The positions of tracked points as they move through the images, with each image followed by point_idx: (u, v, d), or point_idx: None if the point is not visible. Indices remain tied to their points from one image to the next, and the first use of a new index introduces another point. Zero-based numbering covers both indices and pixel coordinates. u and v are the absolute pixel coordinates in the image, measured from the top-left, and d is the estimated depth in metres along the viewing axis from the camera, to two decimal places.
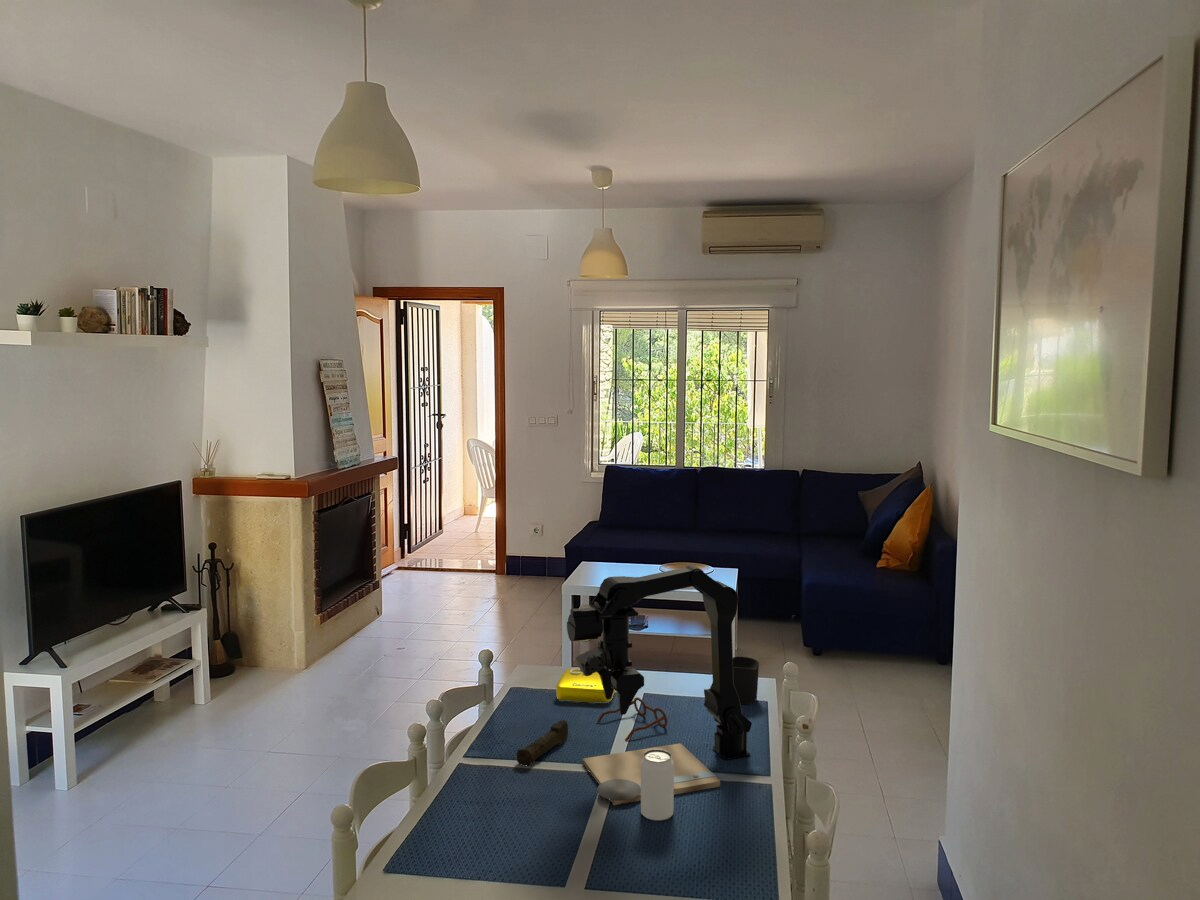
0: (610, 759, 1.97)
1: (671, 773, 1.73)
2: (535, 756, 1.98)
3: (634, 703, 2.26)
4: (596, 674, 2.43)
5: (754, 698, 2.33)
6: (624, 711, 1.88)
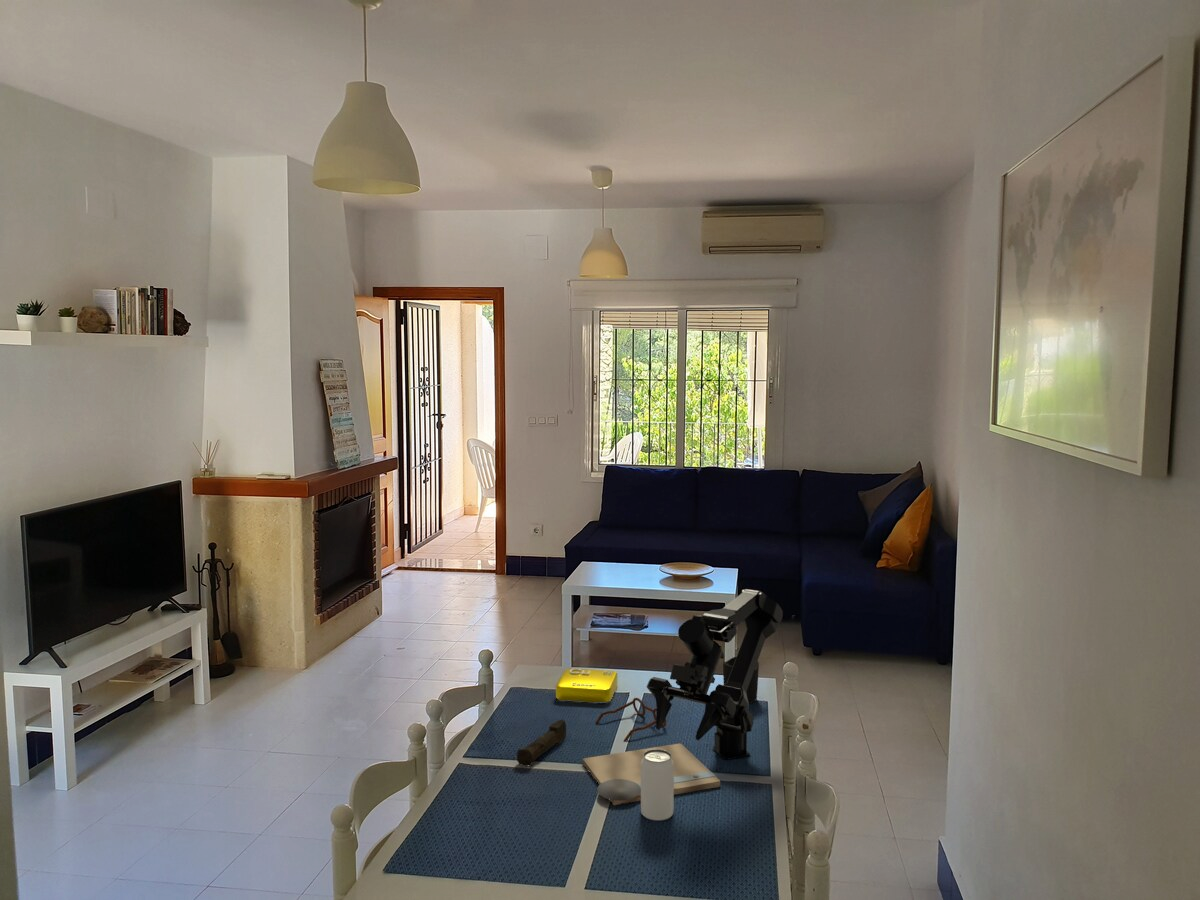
0: (610, 759, 1.97)
1: (671, 773, 1.73)
2: (535, 756, 1.98)
3: (633, 703, 2.26)
4: (596, 674, 2.43)
5: (754, 698, 2.33)
6: (700, 736, 1.78)
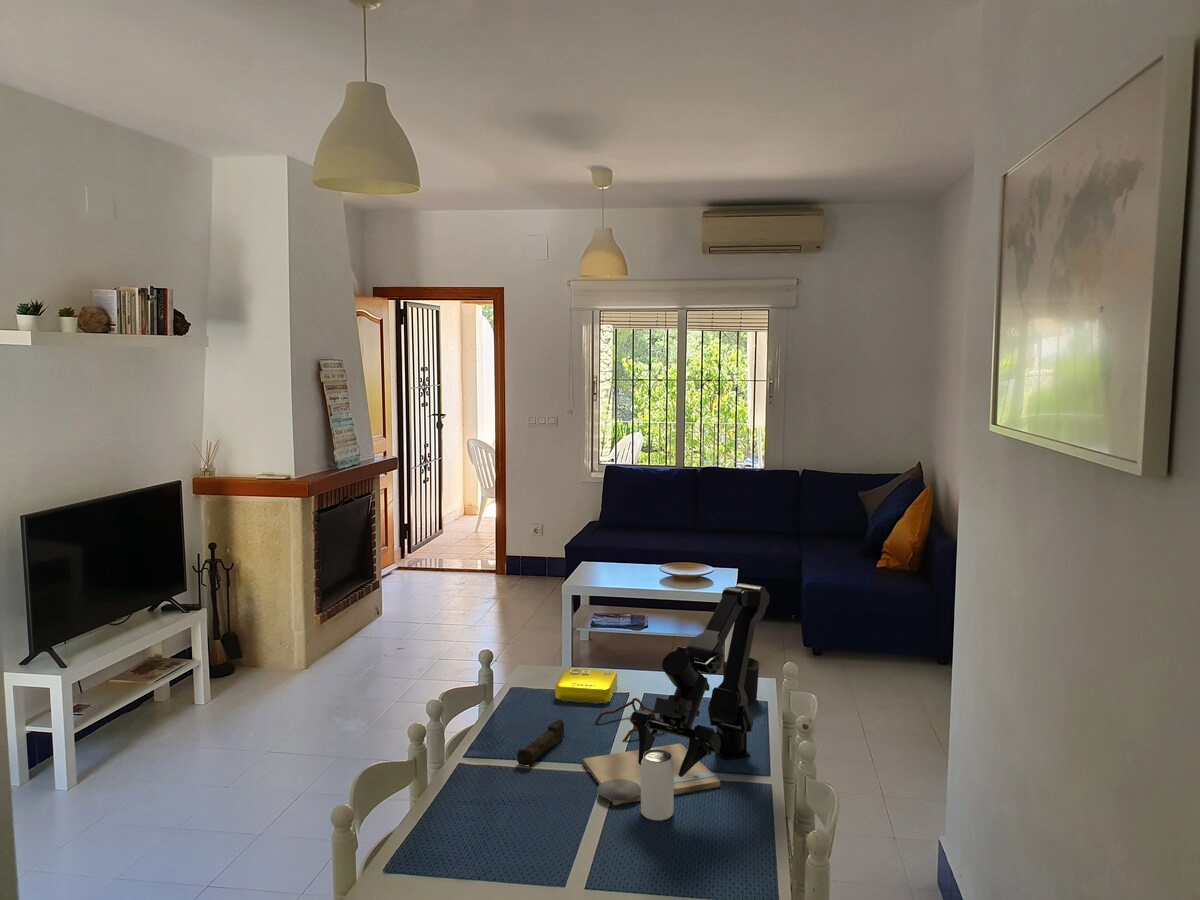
0: (610, 759, 1.97)
1: (671, 773, 1.73)
2: (535, 756, 1.98)
3: (632, 703, 2.26)
4: (596, 674, 2.43)
5: (754, 698, 2.33)
6: (683, 773, 1.73)
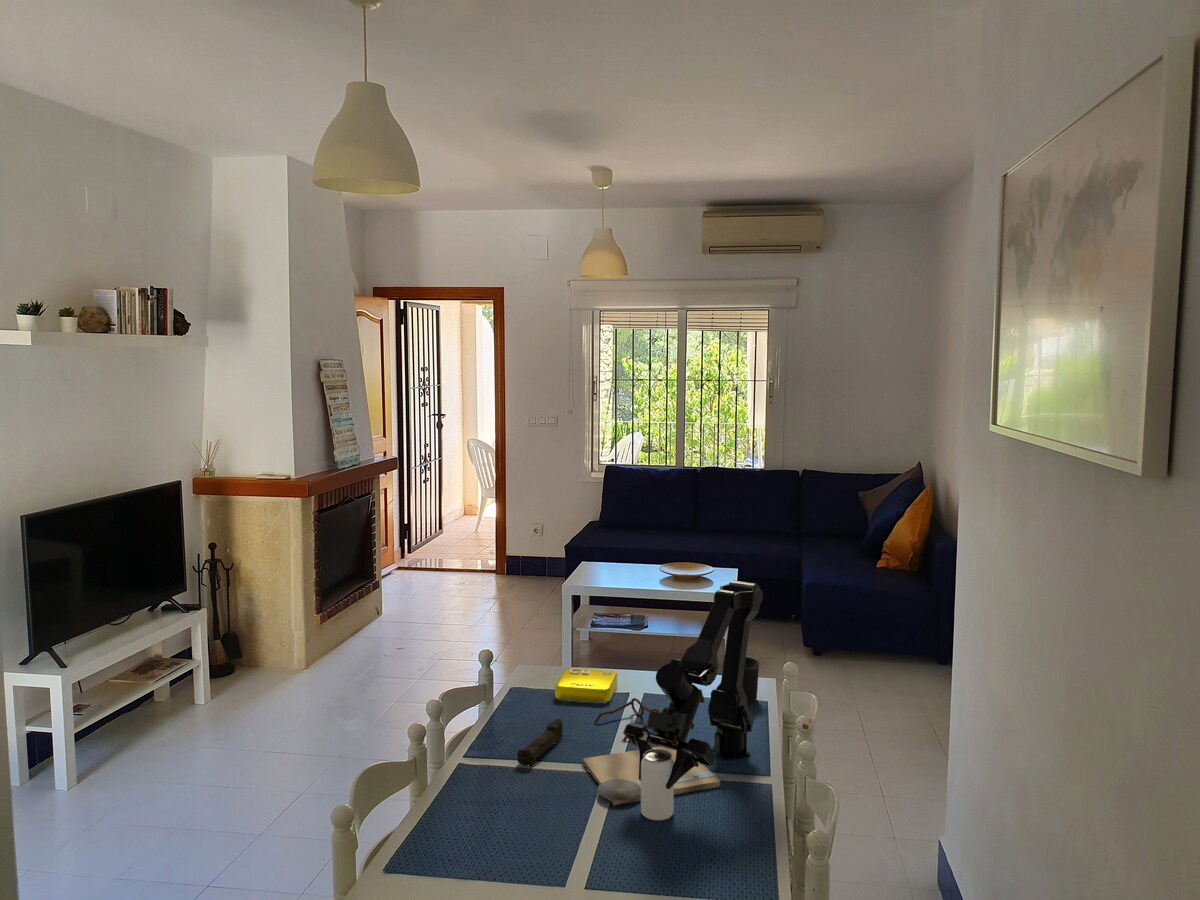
0: (610, 759, 1.97)
1: None
2: (536, 756, 1.98)
3: (631, 704, 2.26)
4: (596, 674, 2.44)
5: (754, 698, 2.33)
6: (670, 785, 1.72)
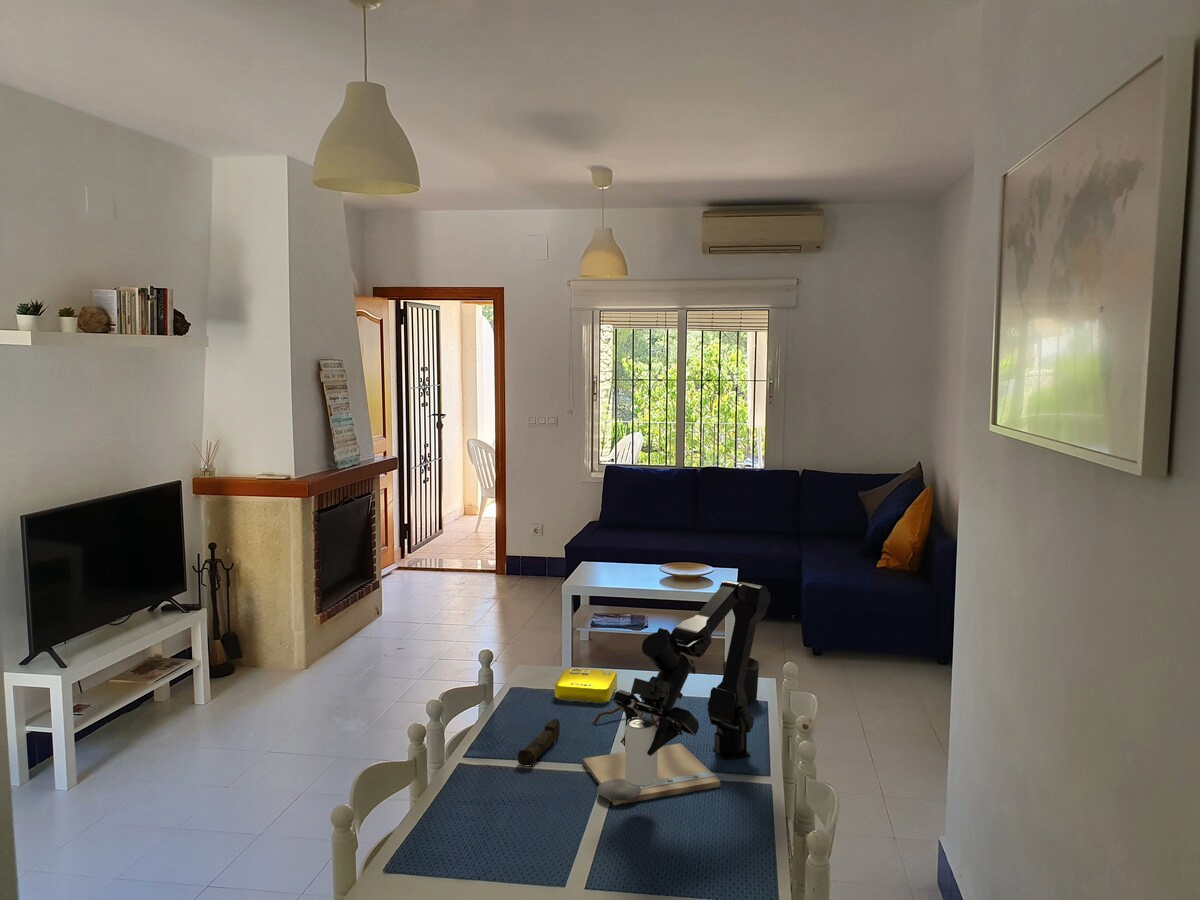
0: (610, 759, 1.97)
1: None
2: (536, 756, 1.98)
3: None
4: (596, 674, 2.44)
5: (754, 698, 2.33)
6: (652, 752, 1.74)
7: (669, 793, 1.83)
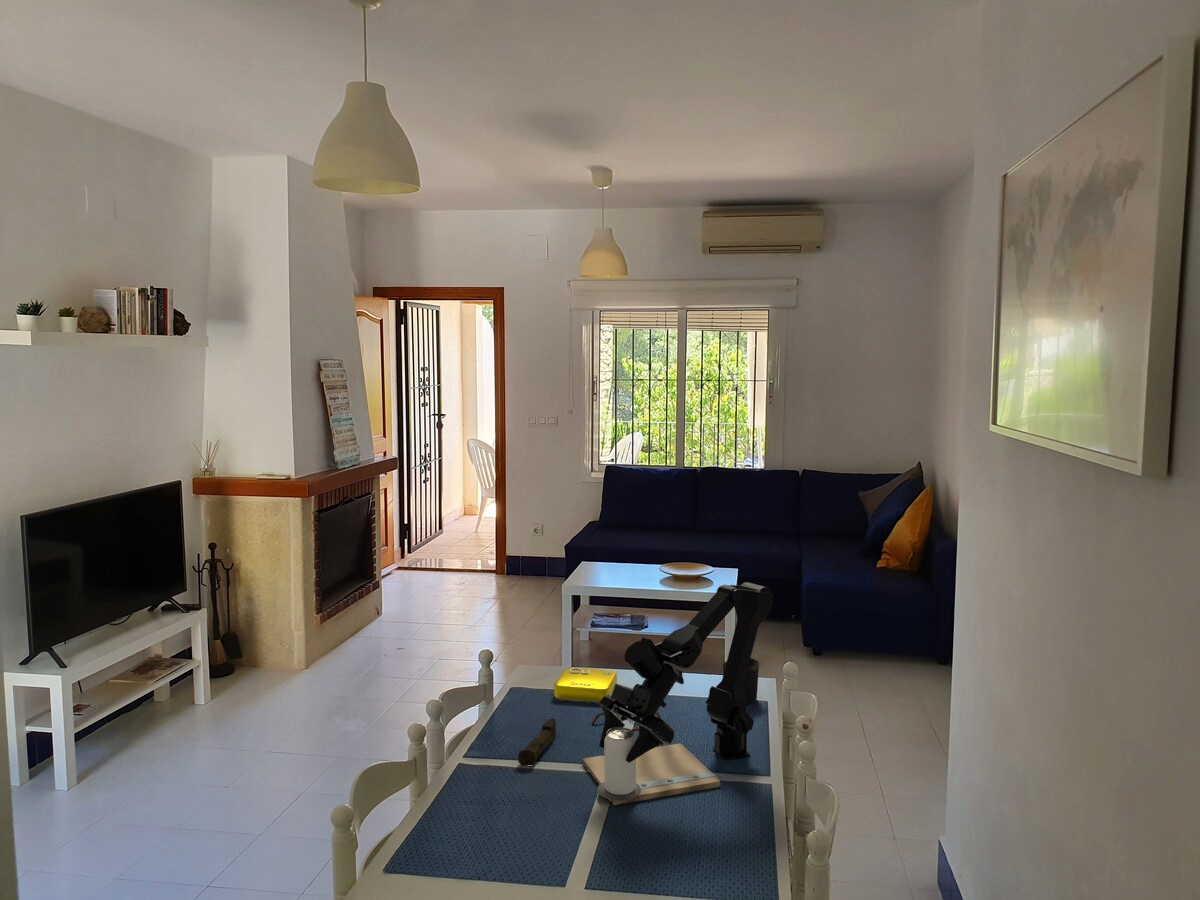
0: None
1: None
2: (536, 755, 1.98)
3: None
4: (595, 674, 2.44)
5: (754, 698, 2.33)
6: (631, 759, 1.78)
7: (669, 793, 1.83)
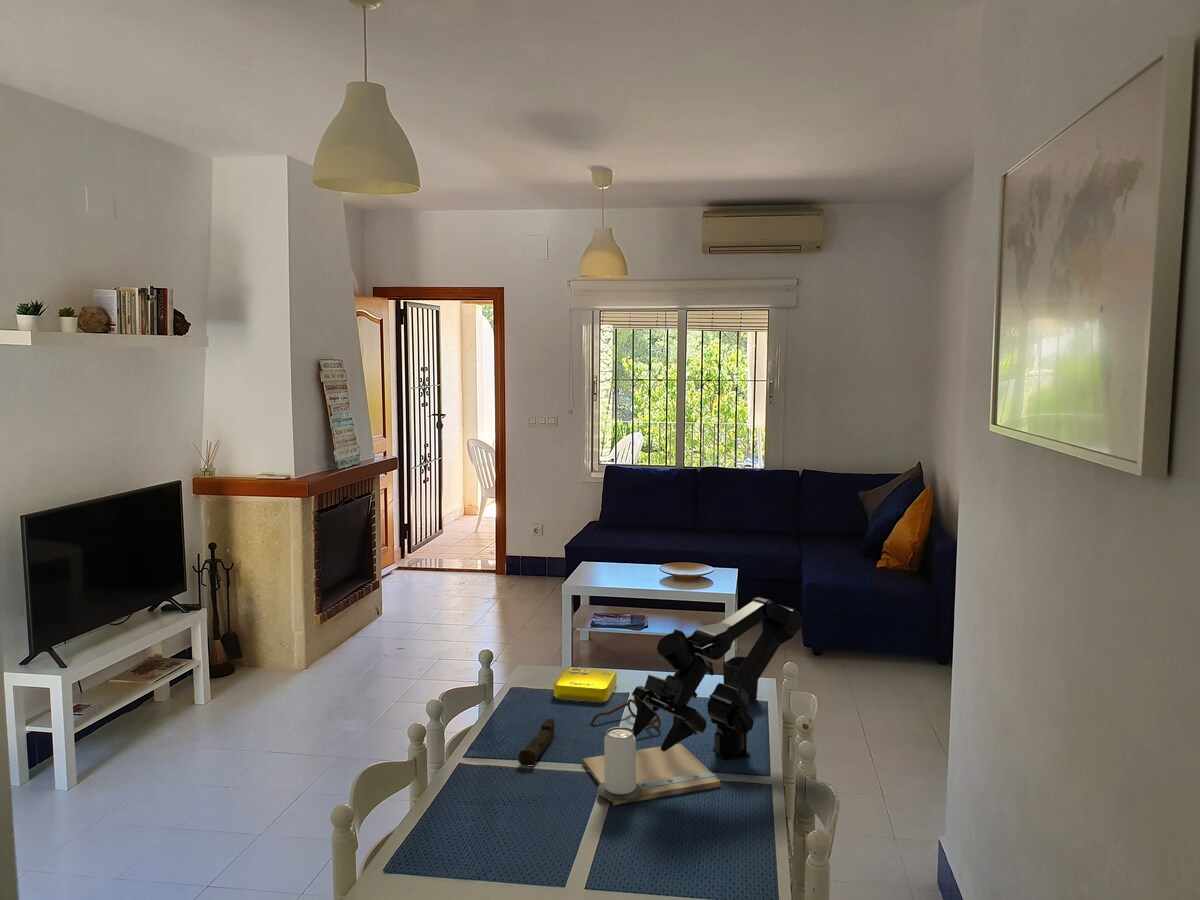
0: None
1: (629, 750, 1.79)
2: (537, 755, 1.98)
3: (628, 705, 2.25)
4: (595, 673, 2.44)
5: (754, 698, 2.33)
6: (665, 748, 1.83)
7: (669, 793, 1.83)
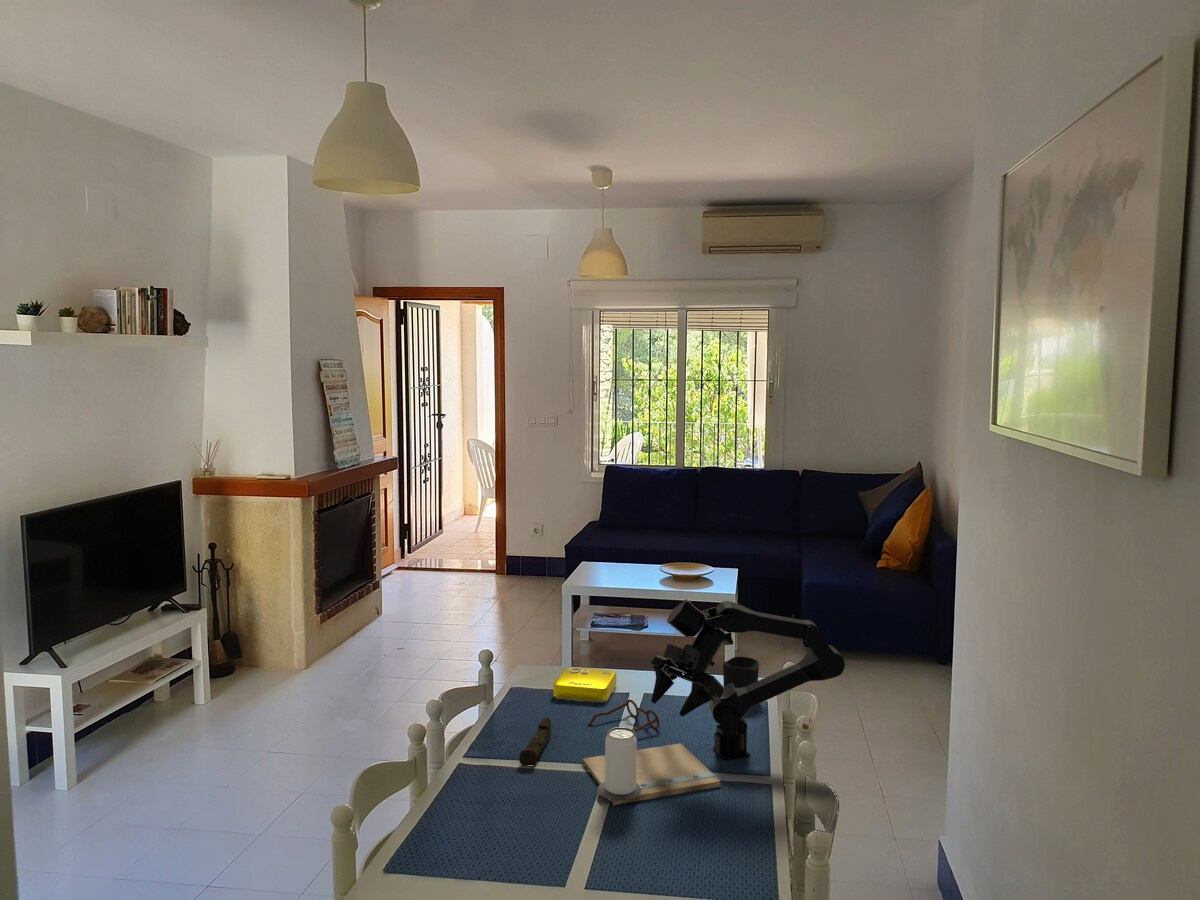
0: None
1: (630, 751, 1.79)
2: (537, 755, 1.98)
3: (626, 705, 2.25)
4: (595, 673, 2.44)
5: None
6: (684, 713, 1.90)
7: (669, 793, 1.83)
